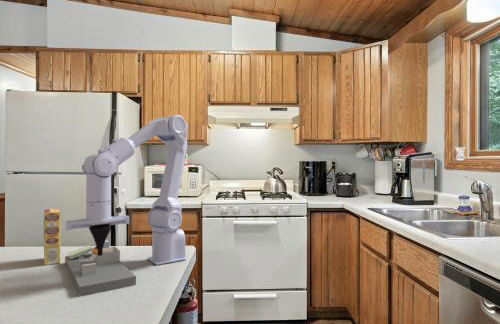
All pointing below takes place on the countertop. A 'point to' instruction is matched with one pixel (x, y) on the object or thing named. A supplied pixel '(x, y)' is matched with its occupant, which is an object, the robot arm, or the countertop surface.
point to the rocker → (80, 252)
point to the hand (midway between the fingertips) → (98, 254)
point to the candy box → (51, 236)
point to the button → (107, 249)
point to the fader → (106, 244)
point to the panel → (99, 272)
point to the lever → (93, 255)
